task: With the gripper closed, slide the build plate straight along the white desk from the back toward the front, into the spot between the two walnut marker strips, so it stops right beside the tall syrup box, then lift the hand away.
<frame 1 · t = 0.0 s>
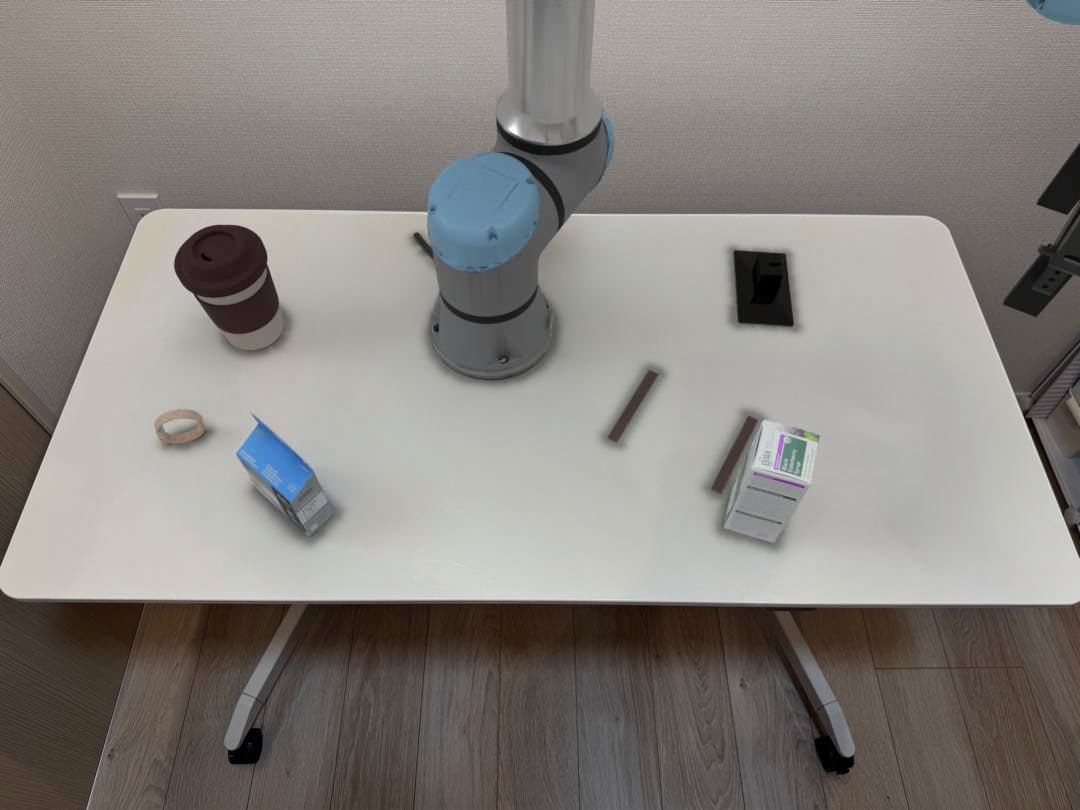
hand: (1036, 255, 67), 28 cm above the table, tool pointing down, fingers open, 13 cm apart
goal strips: (683, 429, 90), on the table
build plate: (761, 289, 101), on the table
label tape box: (297, 501, 85), on the table
beige hollow ring: (190, 438, 89), on the table
syrup box: (751, 514, 84), on the table
coffee cup: (256, 330, 97), on the table
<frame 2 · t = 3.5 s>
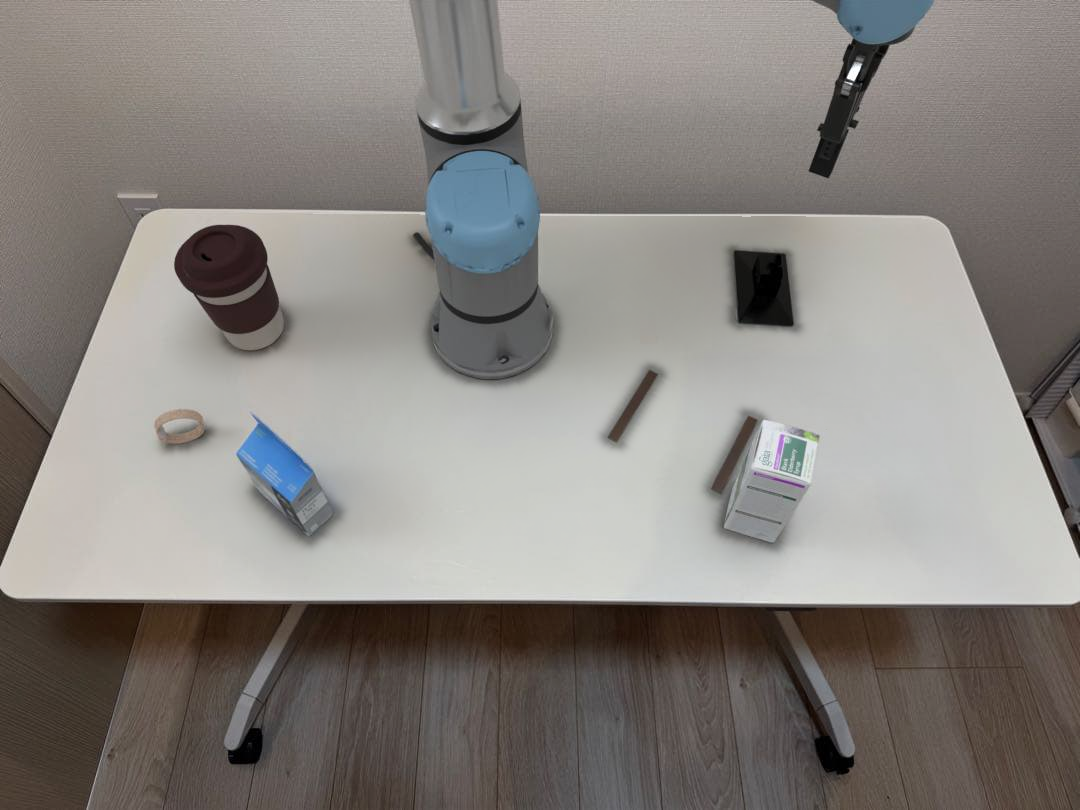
hand: (820, 171, 99), 10 cm above the table, tool pointing down, fingers closed
nothing on the table moved.
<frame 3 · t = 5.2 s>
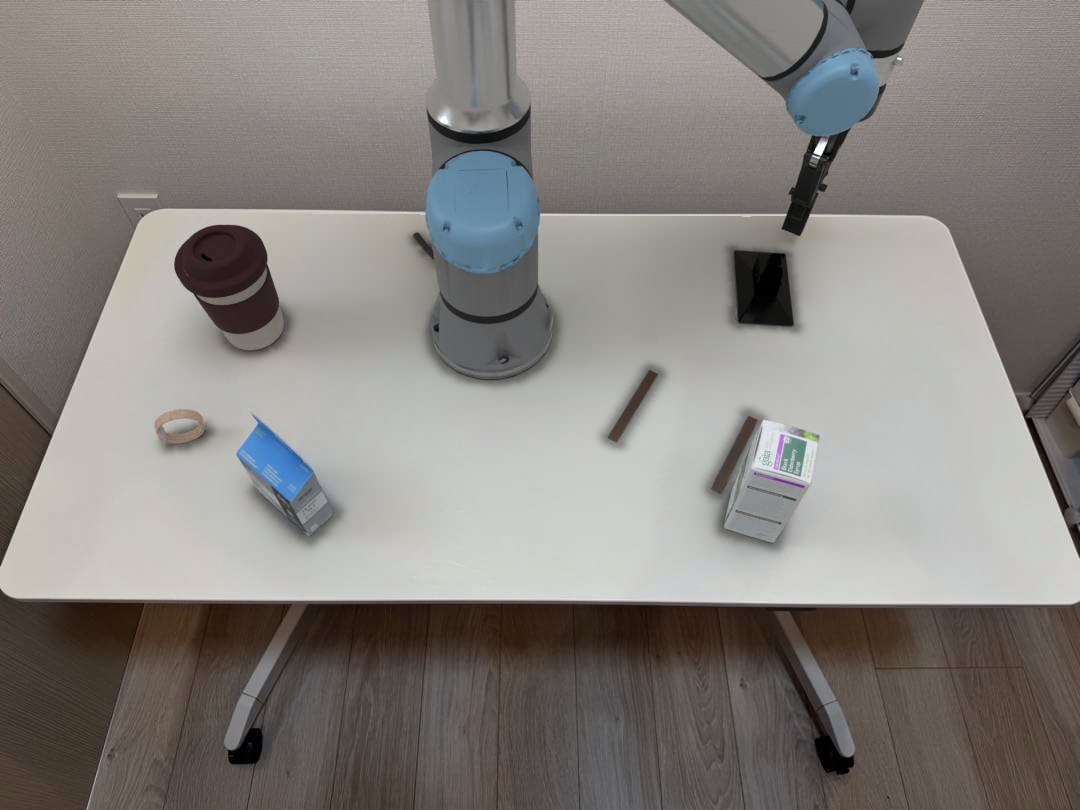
hand: (792, 229, 104), 2 cm above the table, tool pointing down, fingers closed
nothing on the table moved.
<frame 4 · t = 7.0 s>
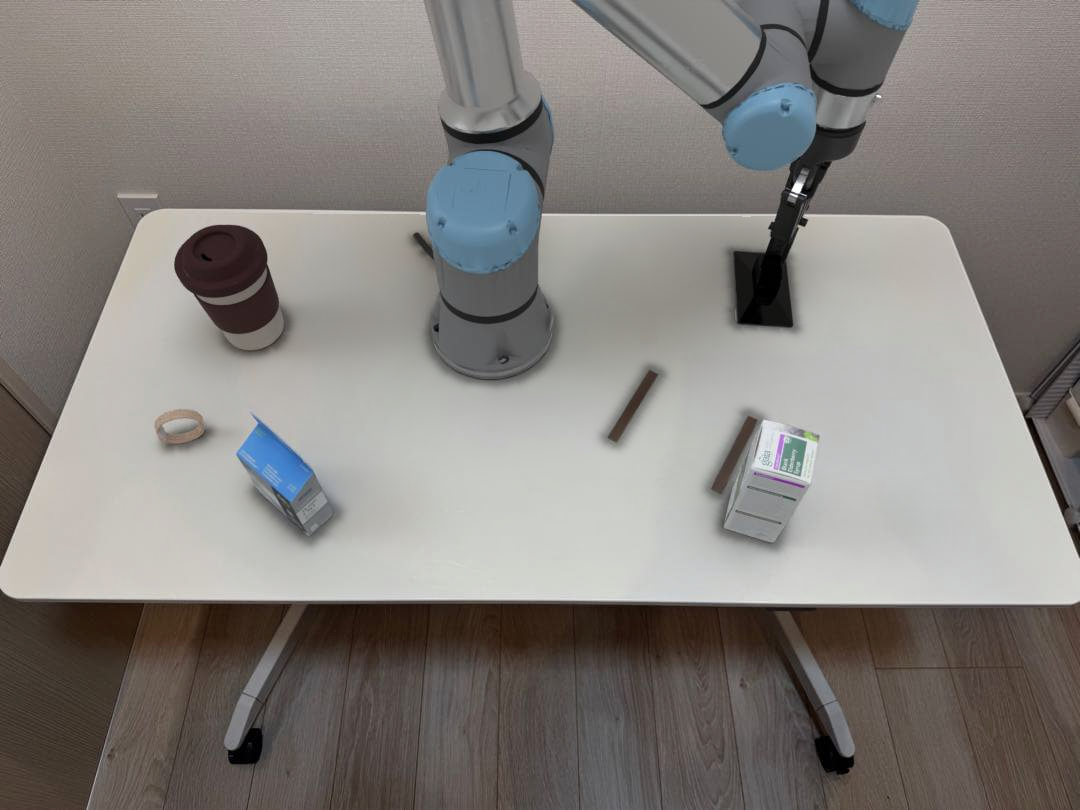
hand: (773, 262, 101), 2 cm above the table, tool pointing down, fingers closed
build plate: (761, 289, 101), on the table, touching gripper
everything else where it was.
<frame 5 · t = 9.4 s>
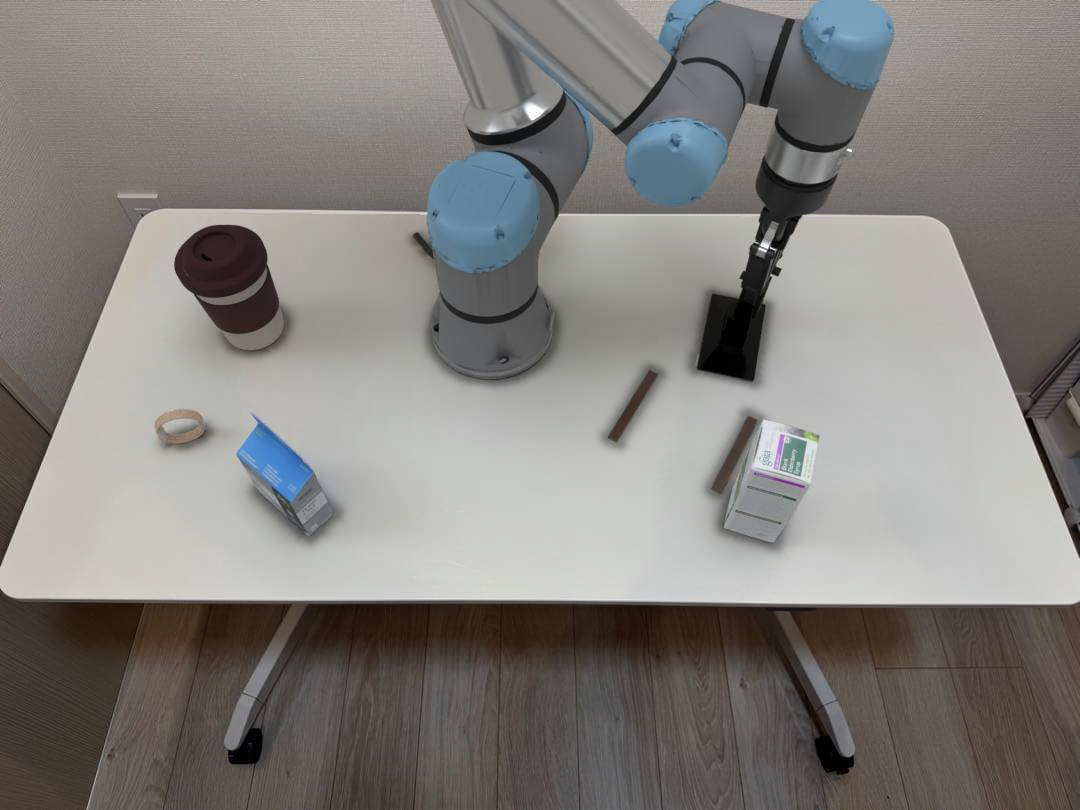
hand: (746, 311, 97), 2 cm above the table, tool pointing down, fingers closed
build plate: (731, 337, 97), on the table, touching gripper
everything else where it was.
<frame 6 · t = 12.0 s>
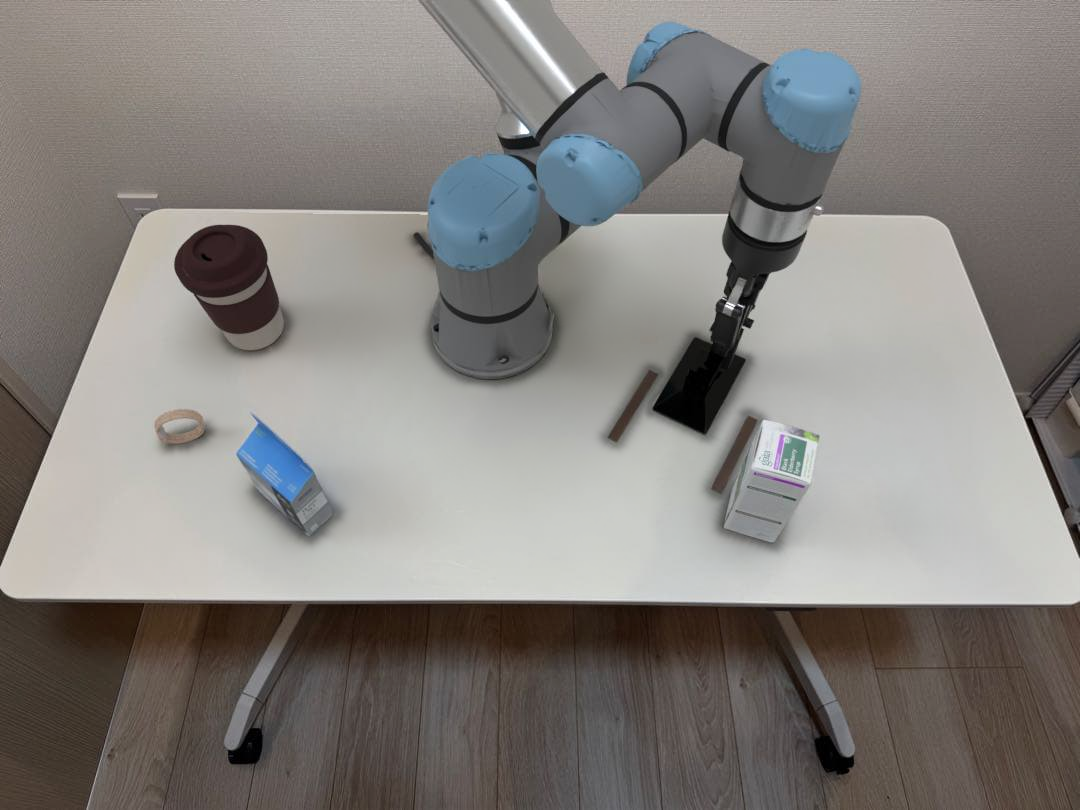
hand: (719, 361, 92), 2 cm above the table, tool pointing down, fingers closed
build plate: (699, 385, 93), on the table, touching gripper
everything else where it was.
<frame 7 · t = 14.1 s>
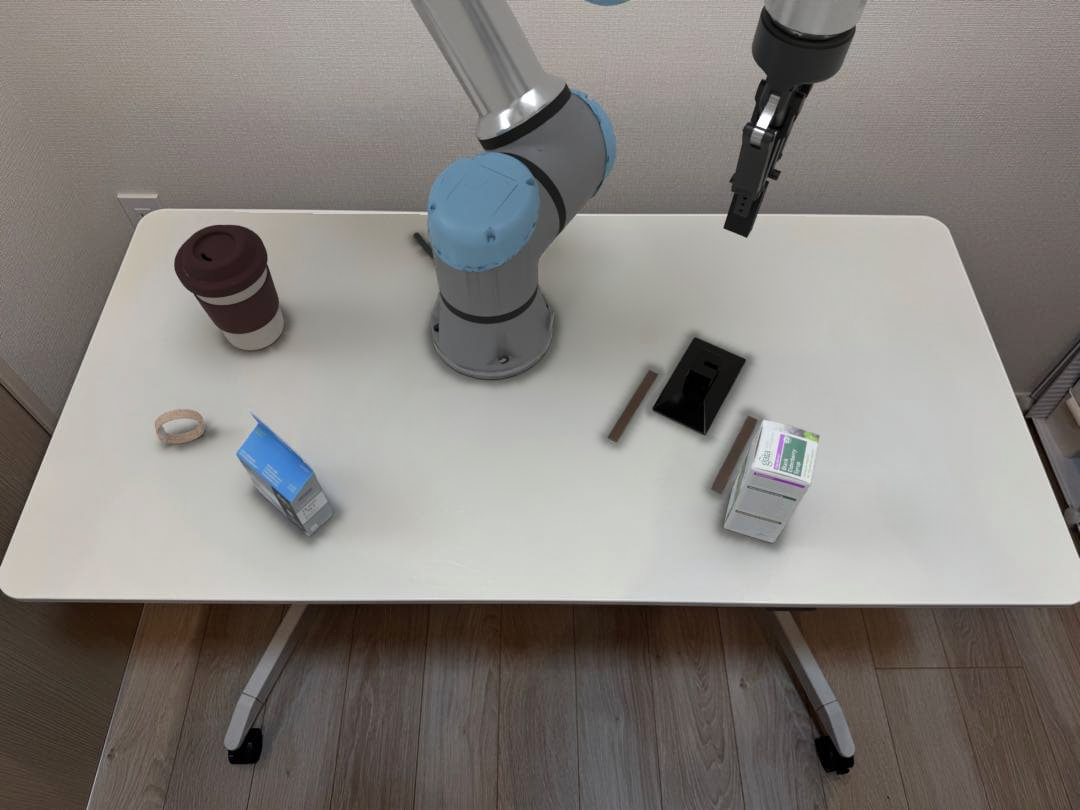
hand: (737, 228, 80), 19 cm above the table, tool pointing down, fingers closed
build plate: (699, 385, 93), on the table
everything else where it was.
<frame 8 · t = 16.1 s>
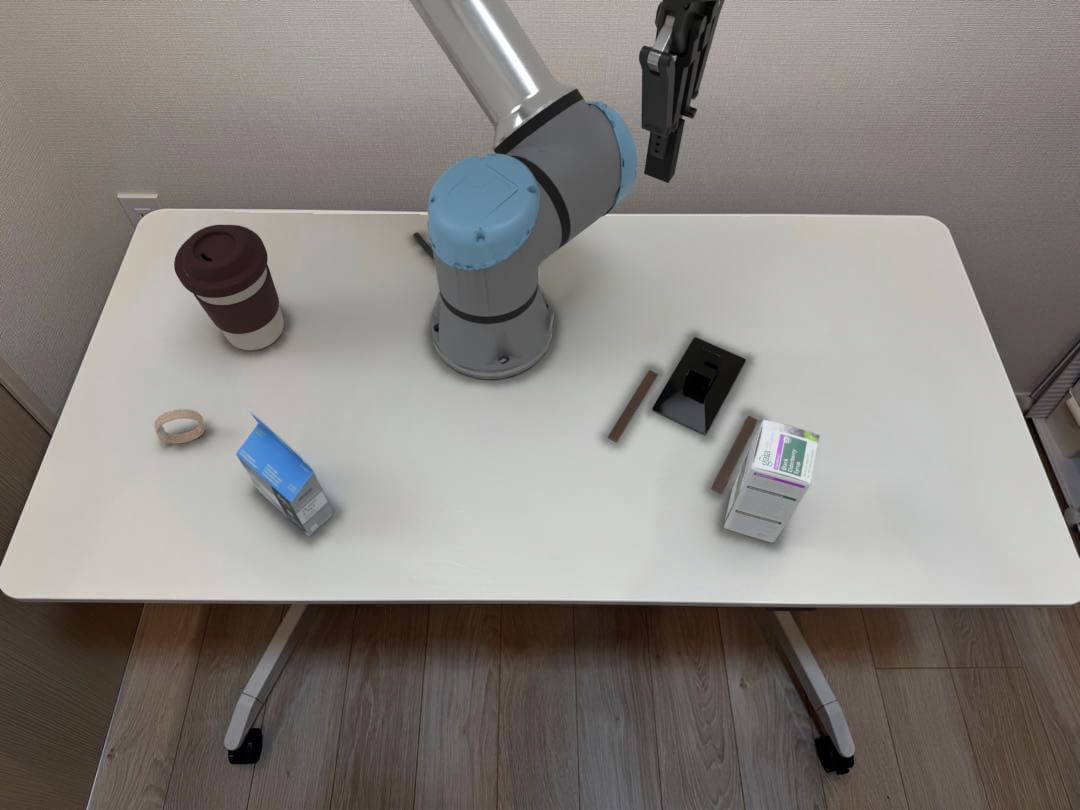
hand: (659, 173, 77), 24 cm above the table, tool pointing down, fingers closed
nothing on the table moved.
at the end: build plate inside the target area on the table beside the syrup box (6.3 cm from its centre), on the table; build plate moved 18.3 cm from its start; build plate tilted 0° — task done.
